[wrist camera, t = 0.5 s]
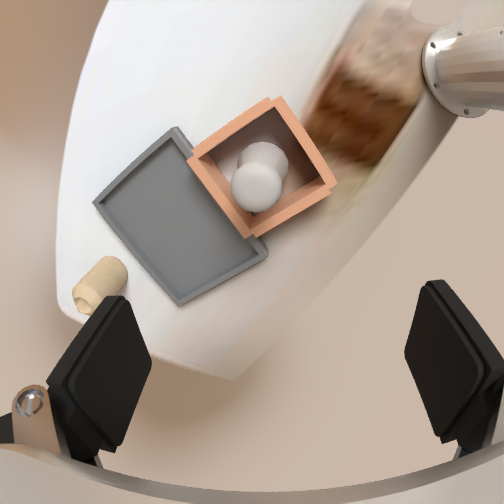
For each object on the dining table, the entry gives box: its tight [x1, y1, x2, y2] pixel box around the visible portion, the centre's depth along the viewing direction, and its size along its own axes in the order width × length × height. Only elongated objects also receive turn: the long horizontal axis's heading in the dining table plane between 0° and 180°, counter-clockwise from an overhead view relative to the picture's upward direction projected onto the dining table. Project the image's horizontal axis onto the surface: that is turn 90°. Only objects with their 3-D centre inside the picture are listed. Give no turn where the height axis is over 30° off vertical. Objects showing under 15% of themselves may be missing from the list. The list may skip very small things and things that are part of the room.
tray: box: [92, 126, 268, 306], centre depth 39 cm, size 16×20×2 cm
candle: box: [72, 256, 128, 316], centre depth 40 cm, size 6×6×10 cm
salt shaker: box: [231, 141, 288, 213], centre depth 29 cm, size 6×6×13 cm
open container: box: [186, 96, 338, 239], centre depth 33 cm, size 12×12×4 cm
